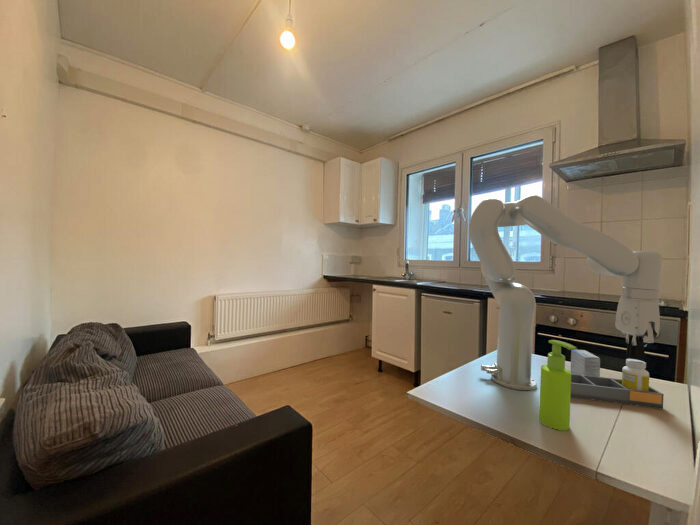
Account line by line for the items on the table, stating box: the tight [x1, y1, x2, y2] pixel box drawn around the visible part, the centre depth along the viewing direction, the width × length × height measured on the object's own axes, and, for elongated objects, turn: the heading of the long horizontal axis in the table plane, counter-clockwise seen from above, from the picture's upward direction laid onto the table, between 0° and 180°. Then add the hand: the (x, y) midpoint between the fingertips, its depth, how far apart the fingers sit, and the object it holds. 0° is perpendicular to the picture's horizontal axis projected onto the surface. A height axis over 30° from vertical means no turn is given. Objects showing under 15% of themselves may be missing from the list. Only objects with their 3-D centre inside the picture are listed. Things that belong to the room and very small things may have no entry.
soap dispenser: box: [538, 339, 578, 432], centre depth 66 cm, size 6×7×20 cm
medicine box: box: [570, 349, 601, 377], centre depth 93 cm, size 8×4×9 cm, turn 168°
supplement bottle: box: [621, 358, 650, 392], centre depth 80 cm, size 5×5×10 cm
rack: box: [571, 374, 664, 410], centre depth 81 cm, size 23×8×4 cm, turn 75°
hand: (634, 358), depth 79 cm, fingers closed
